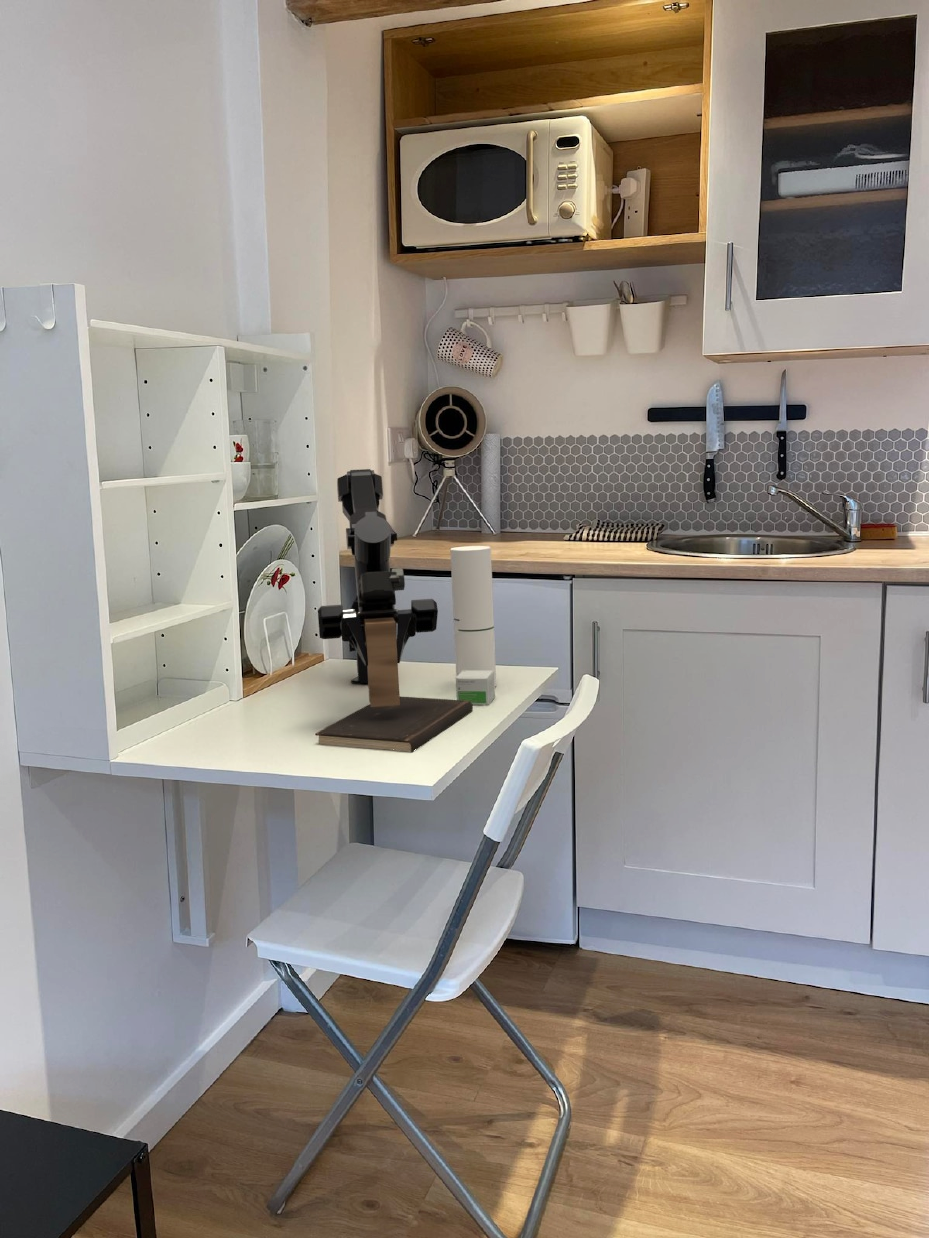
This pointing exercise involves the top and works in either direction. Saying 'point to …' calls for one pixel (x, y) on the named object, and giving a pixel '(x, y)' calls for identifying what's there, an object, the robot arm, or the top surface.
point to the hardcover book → (396, 724)
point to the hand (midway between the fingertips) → (382, 663)
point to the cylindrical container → (473, 608)
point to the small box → (475, 686)
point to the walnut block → (382, 662)
